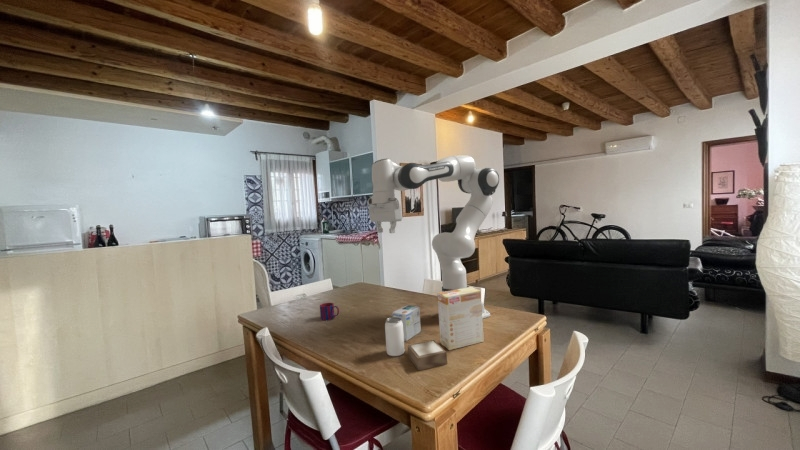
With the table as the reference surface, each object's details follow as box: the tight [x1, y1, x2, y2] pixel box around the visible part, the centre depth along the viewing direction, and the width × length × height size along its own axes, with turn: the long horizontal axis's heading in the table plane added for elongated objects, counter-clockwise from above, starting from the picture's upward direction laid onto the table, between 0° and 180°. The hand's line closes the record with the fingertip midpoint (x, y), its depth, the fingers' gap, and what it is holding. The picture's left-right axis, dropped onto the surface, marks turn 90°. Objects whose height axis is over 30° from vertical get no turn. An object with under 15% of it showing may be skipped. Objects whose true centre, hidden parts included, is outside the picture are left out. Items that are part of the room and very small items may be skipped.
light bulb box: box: [391, 304, 422, 342], centre depth 125 cm, size 11×7×11 cm, turn 145°
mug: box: [319, 302, 340, 322], centre depth 151 cm, size 7×10×7 cm
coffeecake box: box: [437, 286, 485, 351], centre depth 115 cm, size 15×7×20 cm, turn 110°
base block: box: [407, 340, 448, 371], centre depth 103 cm, size 10×10×4 cm
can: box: [384, 316, 406, 357], centre depth 110 cm, size 6×6×12 cm
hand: (386, 232), depth 126 cm, fingers open, 8 cm apart
